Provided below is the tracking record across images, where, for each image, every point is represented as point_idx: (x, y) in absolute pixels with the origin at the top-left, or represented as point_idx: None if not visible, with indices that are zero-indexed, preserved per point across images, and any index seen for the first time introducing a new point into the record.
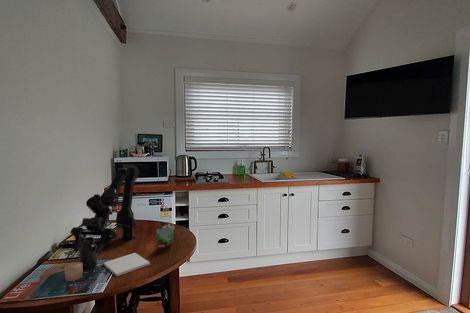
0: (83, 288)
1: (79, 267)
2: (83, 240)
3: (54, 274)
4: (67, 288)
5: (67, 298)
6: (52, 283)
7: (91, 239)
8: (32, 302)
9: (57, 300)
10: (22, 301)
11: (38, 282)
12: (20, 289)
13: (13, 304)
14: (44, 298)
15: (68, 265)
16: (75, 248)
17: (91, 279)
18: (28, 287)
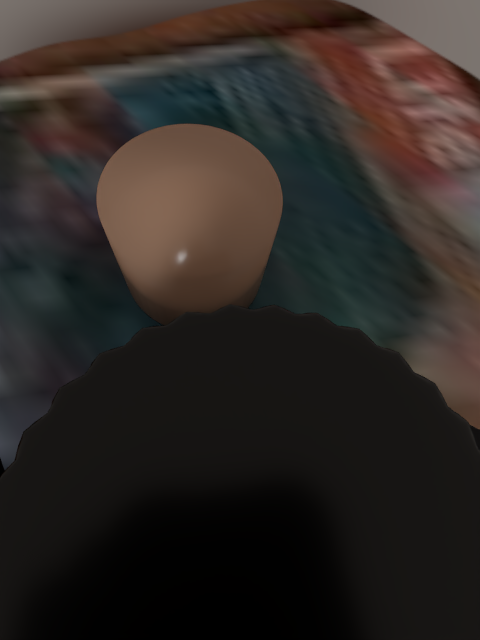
0: (6, 148)
1: (103, 185)
2: (314, 384)
3: (410, 292)
4: (131, 138)
5: (47, 55)
6: (296, 180)
7: (3, 572)
8: (228, 20)
9: (96, 38)
10: (291, 25)
11: (408, 181)
12: (430, 108)
13: (311, 6)
14: (193, 49)
15: (251, 187)
16: (474, 434)
17: (17, 262)
18: (407, 128)
